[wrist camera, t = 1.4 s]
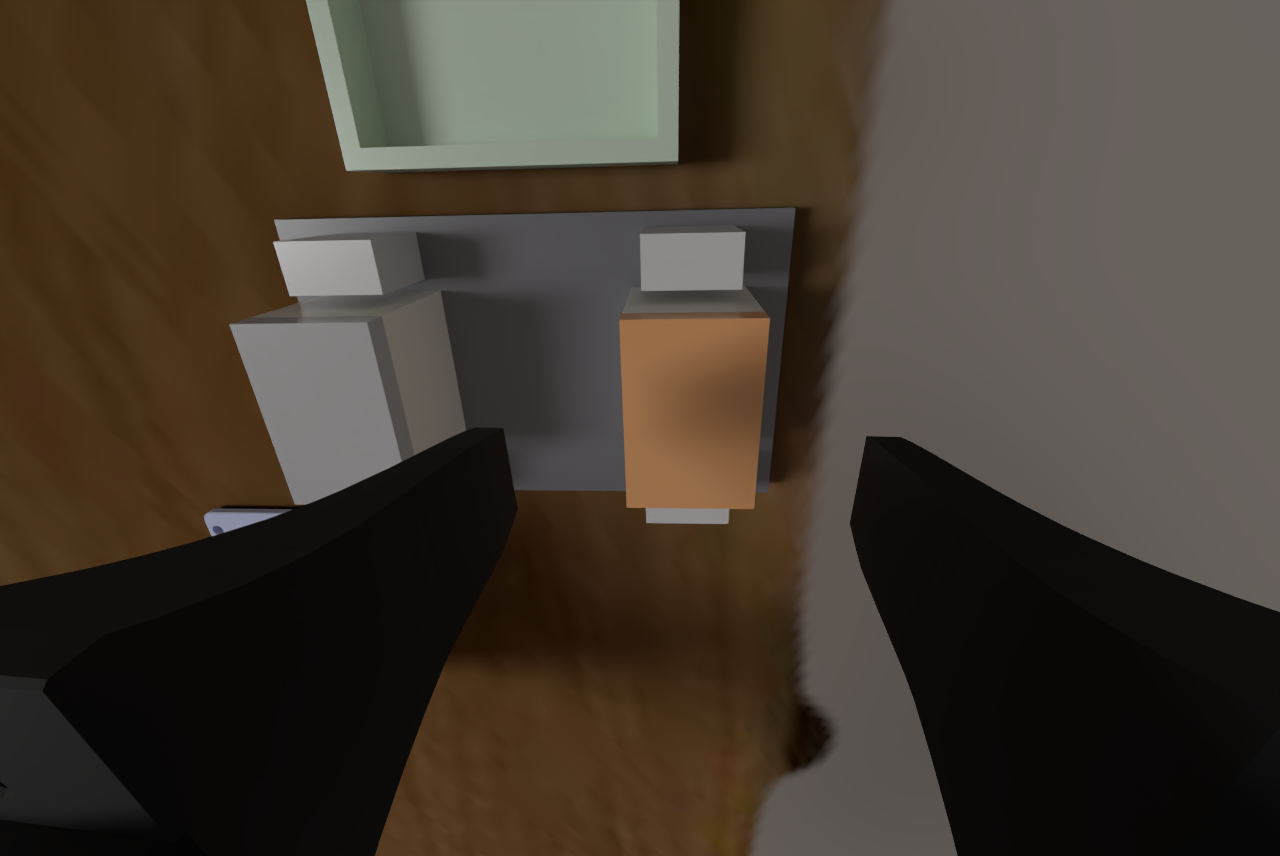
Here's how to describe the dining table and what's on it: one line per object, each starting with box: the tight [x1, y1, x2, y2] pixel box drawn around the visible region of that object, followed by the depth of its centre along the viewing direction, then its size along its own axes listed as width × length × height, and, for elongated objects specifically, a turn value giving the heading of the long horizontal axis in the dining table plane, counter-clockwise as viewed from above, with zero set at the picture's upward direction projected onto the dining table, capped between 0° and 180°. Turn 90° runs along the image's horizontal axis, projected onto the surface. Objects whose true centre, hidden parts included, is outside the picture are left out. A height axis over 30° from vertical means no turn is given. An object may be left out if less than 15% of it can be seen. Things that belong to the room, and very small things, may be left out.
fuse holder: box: [273, 207, 796, 524], centre depth 19 cm, size 11×18×4 cm, turn 91°
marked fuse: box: [619, 286, 770, 509], centre depth 17 cm, size 6×4×5 cm, turn 1°
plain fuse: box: [229, 290, 466, 504], centre depth 18 cm, size 6×4×5 cm, turn 1°
